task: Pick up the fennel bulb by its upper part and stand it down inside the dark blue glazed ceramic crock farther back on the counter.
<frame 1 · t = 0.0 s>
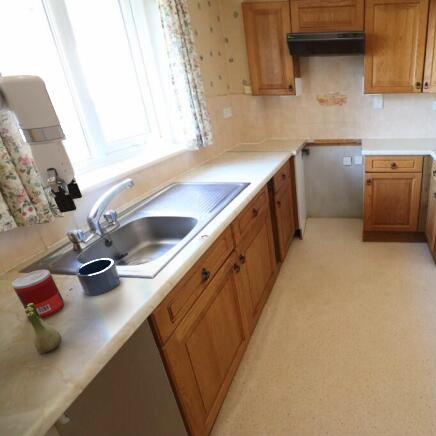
hand: (72, 204, 80), 31 cm above the counter, tool pointing down, fingers open, 9 cm apart
fennel bulb: (52, 347, 78), on the counter
crock: (102, 285, 101), on the counter
canned food: (48, 310, 91), on the counter
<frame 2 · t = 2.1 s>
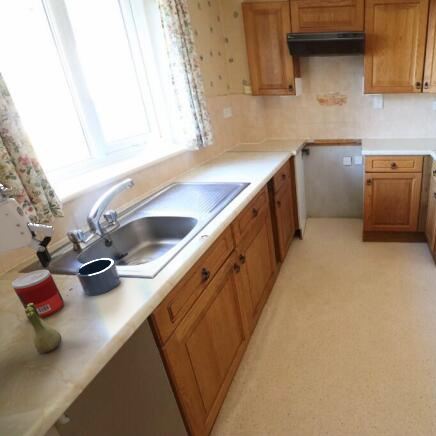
hand: (19, 271, 70), 21 cm above the counter, tool pointing down, fingers open, 9 cm apart
nothing on the counter moved.
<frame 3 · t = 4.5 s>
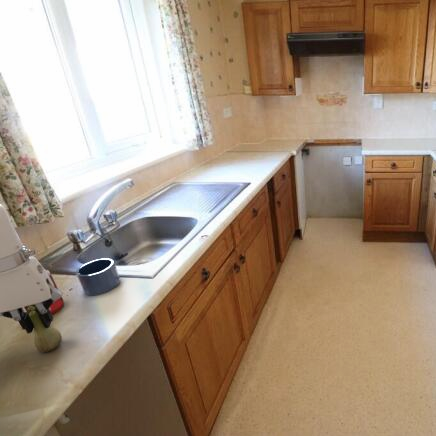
hand: (40, 326, 76), 7 cm above the counter, tool pointing down, fingers closed on fennel bulb, 2 cm apart
fennel bulb: (52, 347, 78), on the counter, touching gripper
everything else where it was.
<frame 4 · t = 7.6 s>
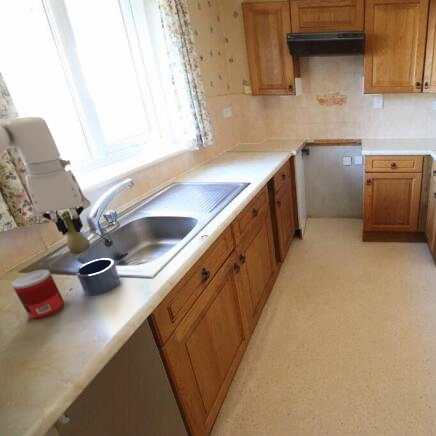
hand: (72, 231, 89), 21 cm above the counter, tool pointing down, fingers closed on fennel bulb, 2 cm apart
fennel bulb: (81, 251, 92), point 14 cm above the counter, touching gripper
everything else where it was.
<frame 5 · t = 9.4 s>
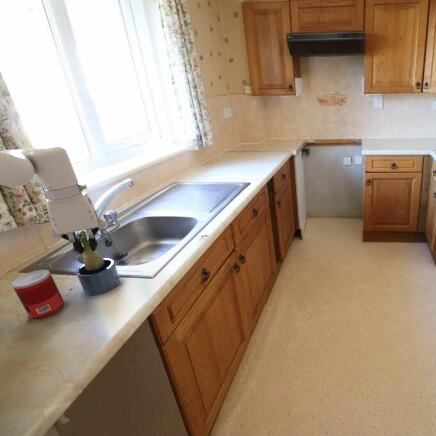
hand: (88, 250, 95), 13 cm above the counter, tool pointing down, fingers closed on fennel bulb, 2 cm apart
fennel bulb: (96, 268, 98), point 6 cm above the counter, touching gripper
everything else where it was.
when the fingers open (7 cm above the counter, at t = 11.1 s): fennel bulb stays where it is, resting on crock.
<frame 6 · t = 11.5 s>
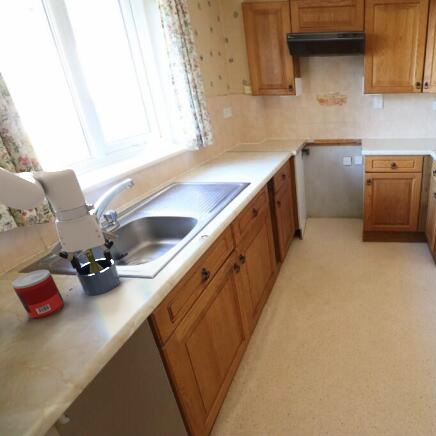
hand: (94, 265, 97), 8 cm above the counter, tool pointing down, fingers open, 7 cm apart
fennel bulb: (103, 284, 100), resting on crock
everything else where it was.
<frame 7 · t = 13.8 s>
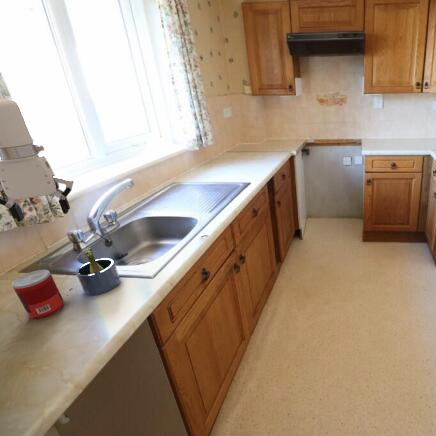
hand: (44, 216, 86), 26 cm above the counter, tool pointing down, fingers open, 9 cm apart
nothing on the counter moved.
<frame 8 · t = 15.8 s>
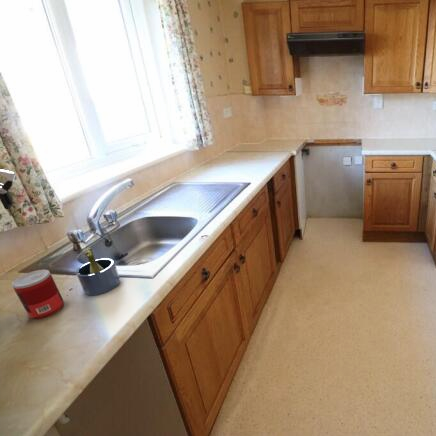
nothing on the counter moved.
at the end: fennel bulb 0.2 cm off-centre in the crock, point 0.4 cm above the crock's base; fennel bulb tilted 0° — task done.
